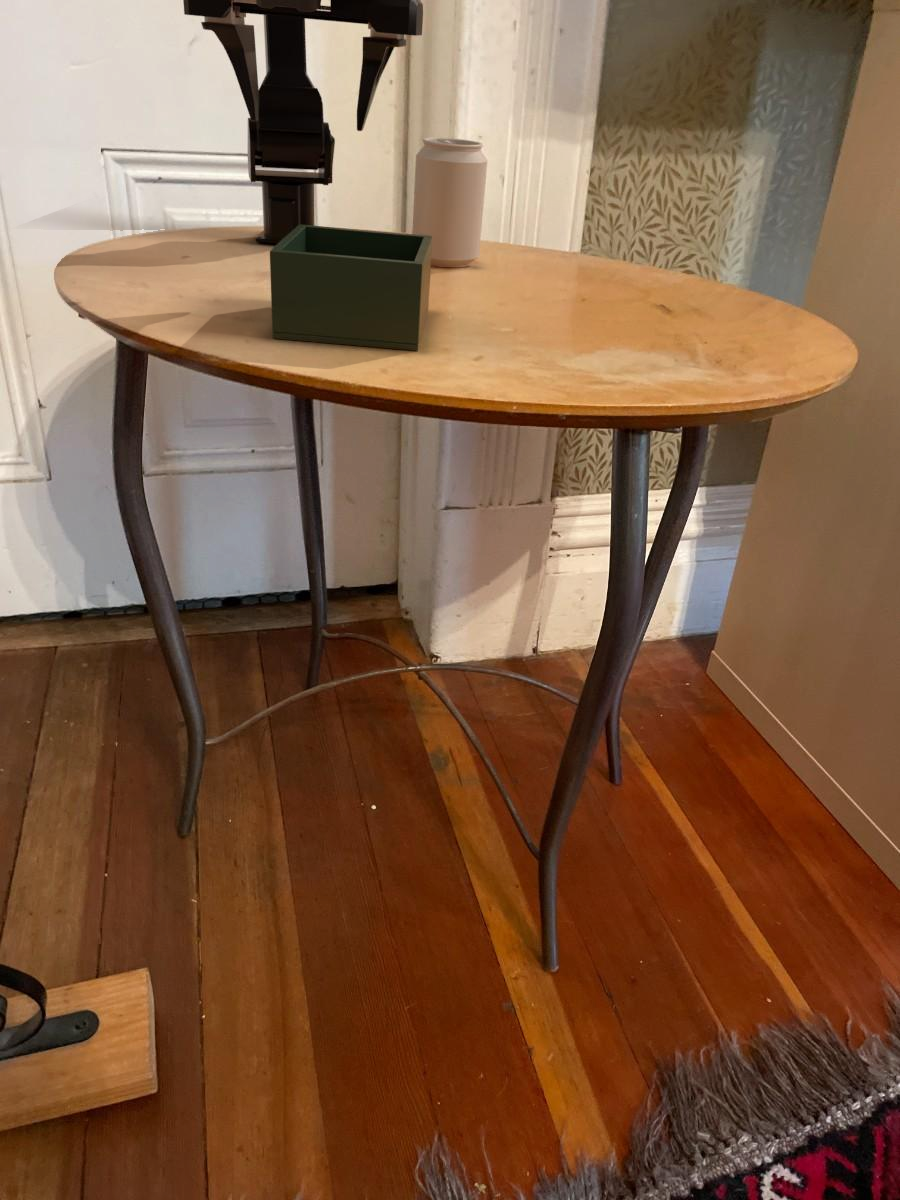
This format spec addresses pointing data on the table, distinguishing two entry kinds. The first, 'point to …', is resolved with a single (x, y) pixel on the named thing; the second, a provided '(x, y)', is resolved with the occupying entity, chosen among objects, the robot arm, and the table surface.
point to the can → (450, 199)
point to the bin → (351, 287)
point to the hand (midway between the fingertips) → (307, 125)
